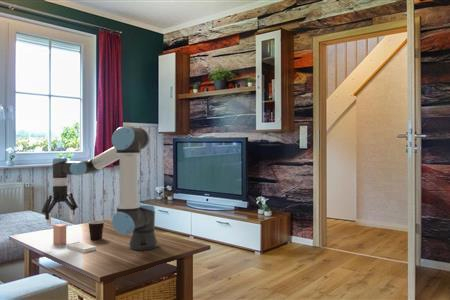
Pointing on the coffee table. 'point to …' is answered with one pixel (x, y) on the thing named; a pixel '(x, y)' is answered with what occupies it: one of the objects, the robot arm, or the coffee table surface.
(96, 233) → the coffee mug
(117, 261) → the coffee table surface
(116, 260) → the coffee table surface
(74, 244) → the pad
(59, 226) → the stub
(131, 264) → the coffee table surface
